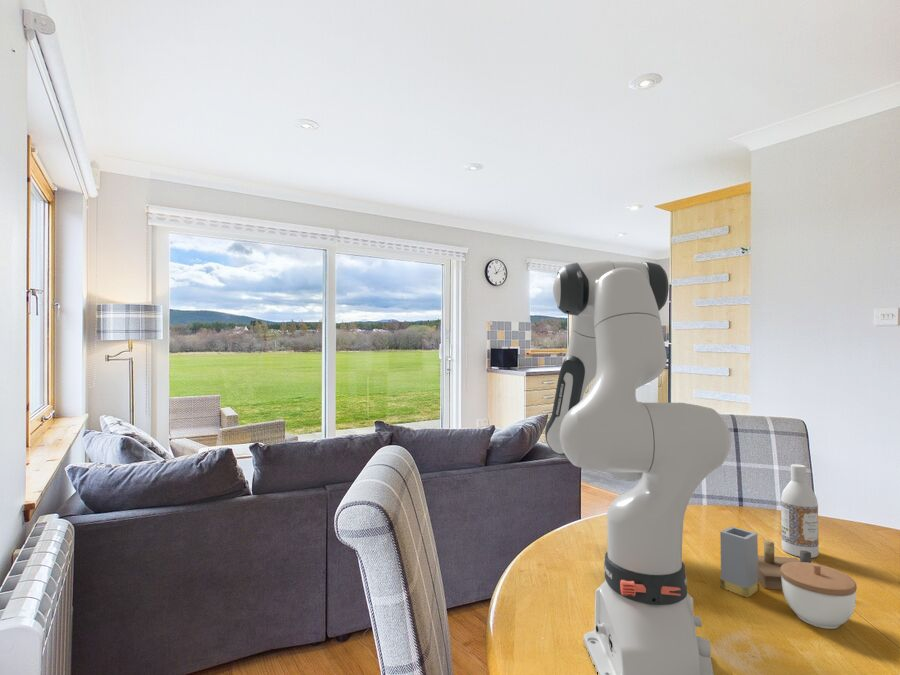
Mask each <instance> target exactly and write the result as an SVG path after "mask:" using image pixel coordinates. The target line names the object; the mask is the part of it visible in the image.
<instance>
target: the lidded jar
mask: <svg viewBox="0 0 900 675" xmlns="http://www.w3.org/2000/svg"><path fill="white" fill-rule="evenodd" d="M780 573H781V582H782V589H783V590H782V592H783V593H782V594H783V596H784V598H785V601H786V603H787V605H788V606H789V608H790V609H791V610H792V611H793V612H794V613H795V614H796V616H797V617H798V619H800V621H802V622H804V623H806V624H808V625H811V626H813V627H816V628H820V629H825V630H833V629H834V630H835V629H838V628H840V627H841V625H843V624H845V623H846V622H847V621H849V620H850V618H851V617H852V616H853V614H854V611H855V607H856V601H857V600H856V599H857V597H856V596H857V594H856V593H857V590H858V589H857V588H858V587H857V582H856V581H855V580H854V579H853V578H852V577H851V576H850V575H849V574H846V573H844V572H843V571H841V570H838V569H836V568H832V567H829V566H827V565H822V564H820V563H813V562H811V563H808V562H788V563H785V564H783V565H782V566H781V567H780Z"/></svg>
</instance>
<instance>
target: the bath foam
mask: <svg viewBox="0 0 900 675" xmlns="http://www.w3.org/2000/svg"><path fill="white" fill-rule="evenodd" d="M781 492H782V493H781V496H780V497H781V498H780V513H781V515H780V517H781V518H780V519H781V522H780V523H781V527H780V528H781V548H782V550H783V551H784V552H785V553H787V554H789V555H792V556H796V557H797V558H798V557H799V558H800V551H801V550H803V551H808V552H810V553H811V559H813V558H816V557H818V556H819V554H820V552H819V548H820V547H819V545H820V544H819V504H818V498H817V496H816V494H815V492H814V490H813V489H812V488H811V486H810V485H809V484H808V482H807V466H806V465H803V464H799V463H795V464H794V463H793V464H790V481H789V482H788V483H787V485H786V486H785V487H784V488H783V490H782V491H781Z"/></svg>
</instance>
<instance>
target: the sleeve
mask: <svg viewBox="0 0 900 675" xmlns="http://www.w3.org/2000/svg"><path fill="white" fill-rule="evenodd" d="M719 535H720V582H719V584H720V588H721V589H723V588H724V590H725V591H726V590H727V591H728V590H729V591H728V592H731V593H734V594H736V595H739V596H742V597H745V598H749V597H751V596H752V595H754V594H755V593H757V592H759V590H760V582H759V581H758V554H759V550H758V533H757V532H754V531H749V530H747V529H742V528H739V527H735V526H732V525H731V526H730V527H727V528H726V529H723V530H721V531H720V534H719Z"/></svg>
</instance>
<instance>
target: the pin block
mask: <svg viewBox="0 0 900 675" xmlns="http://www.w3.org/2000/svg"><path fill="white" fill-rule="evenodd" d="M788 562H808V563H812V558H811V553H810V552H808V551H803V550H801V551H800V557H799V559H798V557H783V556H775V542H773V541H770V540H764V541H763V555H758V582H759V584H761V585H762V586H763V587H764V589H765V588H768V589H767V590H778V591H783V589H782V582H781V573H780V567H781V566H782V565H783V564H785V563H788Z"/></svg>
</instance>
